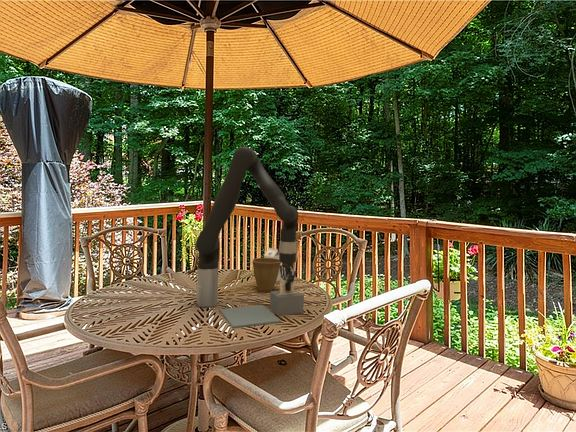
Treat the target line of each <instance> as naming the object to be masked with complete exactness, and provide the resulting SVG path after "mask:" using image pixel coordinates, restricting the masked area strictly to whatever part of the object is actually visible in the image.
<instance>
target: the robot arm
mask: <svg viewBox="0 0 576 432" xmlns="http://www.w3.org/2000/svg"><path fill="white" fill-rule="evenodd" d="M246 172H248V173H249V174H250V175H251V176H252V178H253V179H254V180H255V182H256V184H257V185H258V187H259V189H260V191H261V192H262V194H263V196H265V198H266V199H267V201H268V202H269V204H271V205H272V208H273V210H274V211H275V214H276V216H277V217H278V218H279V220H281V221H282V227H281V229H280V235H279V250H278V252H279V261H280V262H281V266H279V267H280V274H281V279H282V280H286V287H285V290H286V291H290V290H291V282H293V281H294V282H295V277H296V274H297V272H296V270H294V264H295V263H296V262H297V230H298V229H297V228H298V223H299V210H298V209H297V207H295V206H293V205H290V204H289V203H288V201H287V200H286V196H285V194H284V193H283V192H282V190H281V189H280V187H279V186H278V185H277V184H276V182H275V181H274V180H273V179H272V178H271V176H270V175H269V173H268V172H267V171H266V169H265V167H264V166H263V164H262V162H261V161H260V158H259V157H258V155H257V153H256V151H255V150H254V149H253V148H250V147H249V146H245V145H243V146H240V147H238V148H236V150H235V151H234V152H233V155H232V158H231V161H230V165H229V168H228V171H227V173H226V176H225V178H224V179H223V182H222V184H221V186H220V189H219V190H218V192H217V195H216V197H215V199H214V201H213V204H212V207H211V208H210V209H211V210H210V212H209V215H208V218H207V220H206V223H204V226H203V228H202V229H201V232H200V233H199V234H198V236H197V238H196V242H195V247H196V248H195V249H196V250H197V252H198V253H199V257H198V261H197V276H196V277H197V279H196V280H197V282H196V290H195V291H196V293H195V295H196V297H195V298H196V300H195V301H196V306H197V307H198V308H199V307H200V308H201V307H202V308H213V307H215V306H218V303H219V297H218V296H219V294H218V293H219V290H218V289H219V263H220V250H221V249H220V248H221V247H220V245H221V243H220V238H219V236H220V234H221V230H222V229H223V227H224V226H225V224H226V222H227V221H228V220H229V218H230V217H231V215H232V213H233V211H234V209H236V205H237V203H238V200H239V198H240V197H239V196H240V194H241V193H240V192H241V187H242V182H243V179H244V176H245V174H246Z"/></svg>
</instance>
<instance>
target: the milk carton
mask: <svg viewBox="0 0 576 432" xmlns="http://www.w3.org/2000/svg"><path fill="white" fill-rule="evenodd" d="M263 258H274V259H279V250H278V248H274V247H268V249H267V251H266V252H265V253H264V255H263ZM281 265H282V263H280V266H281ZM280 280H282V278H281V274H280V268H279V273H278V277H277V280H276V283H277V282H280Z"/></svg>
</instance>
